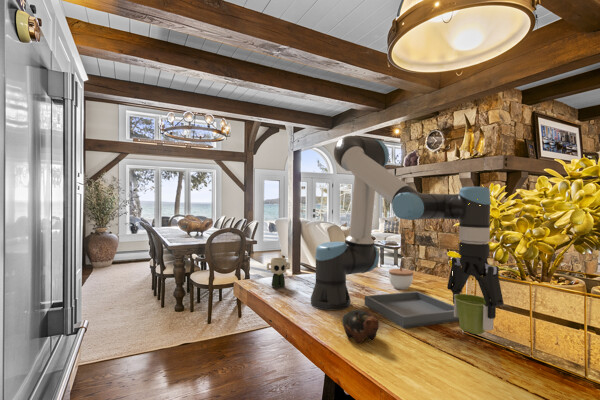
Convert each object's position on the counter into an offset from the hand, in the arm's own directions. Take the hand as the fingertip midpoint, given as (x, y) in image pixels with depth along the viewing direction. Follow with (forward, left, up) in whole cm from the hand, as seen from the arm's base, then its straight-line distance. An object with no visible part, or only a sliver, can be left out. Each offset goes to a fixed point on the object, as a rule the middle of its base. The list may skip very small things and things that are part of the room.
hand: (472, 322), depth 90 cm
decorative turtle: (-28, +13, -6) cm, 32 cm away
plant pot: (0, 0, -2) cm, 2 cm away
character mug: (-37, +74, -6) cm, 83 cm away
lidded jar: (+17, +57, -6) cm, 59 cm away
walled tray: (0, +27, -6) cm, 27 cm away
